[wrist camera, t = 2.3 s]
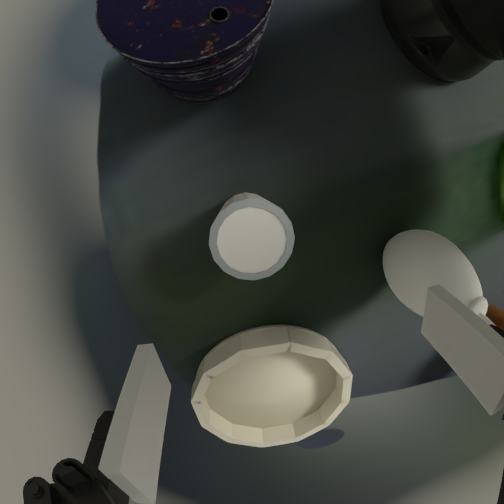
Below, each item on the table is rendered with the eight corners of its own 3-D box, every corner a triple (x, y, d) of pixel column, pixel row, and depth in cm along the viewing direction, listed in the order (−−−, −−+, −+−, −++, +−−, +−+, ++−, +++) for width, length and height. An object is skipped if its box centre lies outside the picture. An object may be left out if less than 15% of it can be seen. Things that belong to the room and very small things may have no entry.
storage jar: (133, 64, 24) (63, 11, 10) (205, 1, 22) (192, -87, 8) (201, 125, 27) (174, 104, 13) (274, 59, 25) (316, -8, 11)
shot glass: (198, 223, 30) (190, 246, 23) (243, 171, 29) (248, 179, 22) (249, 264, 32) (255, 296, 25) (294, 216, 31) (312, 237, 24)
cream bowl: (177, 337, 34) (173, 358, 31) (344, 310, 35) (356, 328, 31) (213, 433, 42) (213, 452, 38) (338, 412, 42) (345, 430, 38)
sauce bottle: (417, 209, 31) (533, 268, 15) (423, 266, 34) (517, 343, 17) (362, 229, 32) (468, 312, 15) (372, 288, 34) (456, 387, 18)
